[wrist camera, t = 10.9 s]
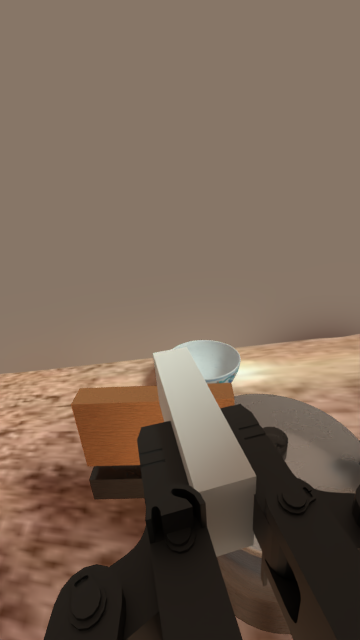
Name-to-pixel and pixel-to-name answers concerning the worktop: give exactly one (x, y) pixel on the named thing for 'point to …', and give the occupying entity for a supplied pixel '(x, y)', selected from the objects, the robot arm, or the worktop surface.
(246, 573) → the pot
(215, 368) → the chinaware
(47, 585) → the worktop surface
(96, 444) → the lid
